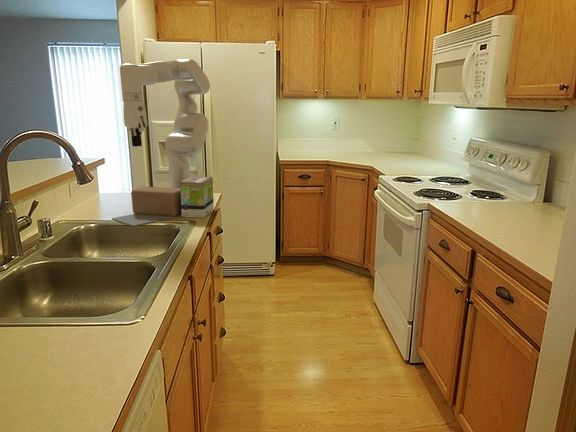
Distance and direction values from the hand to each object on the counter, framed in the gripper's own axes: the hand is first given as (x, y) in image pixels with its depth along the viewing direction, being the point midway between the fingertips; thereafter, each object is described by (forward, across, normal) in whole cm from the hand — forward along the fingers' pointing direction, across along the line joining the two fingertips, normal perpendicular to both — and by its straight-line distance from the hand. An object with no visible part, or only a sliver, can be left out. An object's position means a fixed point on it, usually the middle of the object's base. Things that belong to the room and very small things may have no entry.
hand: (137, 146), depth 172 cm
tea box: (+29, -14, -18) cm, 36 cm away
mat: (+28, -4, 0) cm, 29 cm away
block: (+23, +7, -2) cm, 24 cm away
